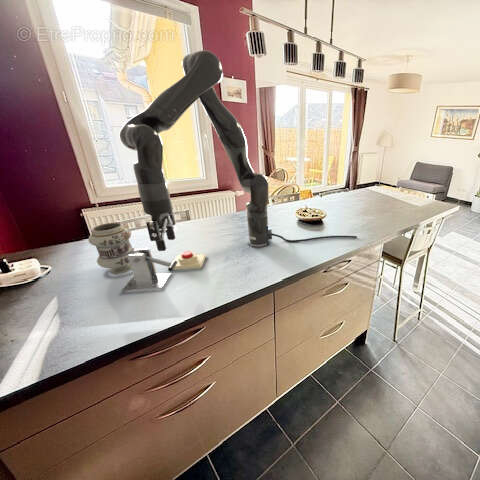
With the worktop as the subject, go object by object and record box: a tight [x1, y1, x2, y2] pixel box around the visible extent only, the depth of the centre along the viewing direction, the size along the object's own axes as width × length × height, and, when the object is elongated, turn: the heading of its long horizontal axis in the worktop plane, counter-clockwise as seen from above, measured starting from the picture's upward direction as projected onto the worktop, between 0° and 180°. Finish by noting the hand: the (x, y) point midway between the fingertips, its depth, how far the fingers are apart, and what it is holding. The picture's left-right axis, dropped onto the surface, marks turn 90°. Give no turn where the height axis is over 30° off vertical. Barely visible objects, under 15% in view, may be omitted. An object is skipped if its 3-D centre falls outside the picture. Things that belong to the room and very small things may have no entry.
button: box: [181, 250, 193, 259], centre depth 96 cm, size 4×4×2 cm
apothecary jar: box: [88, 222, 135, 274], centre depth 88 cm, size 12×12×18 cm
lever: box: [135, 251, 178, 272], centre depth 82 cm, size 12×5×2 cm, turn 102°
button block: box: [173, 251, 207, 270], centre depth 97 cm, size 11×9×4 cm
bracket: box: [121, 247, 172, 292], centre depth 82 cm, size 12×9×13 cm
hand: (167, 244), depth 80 cm, fingers open, 8 cm apart
